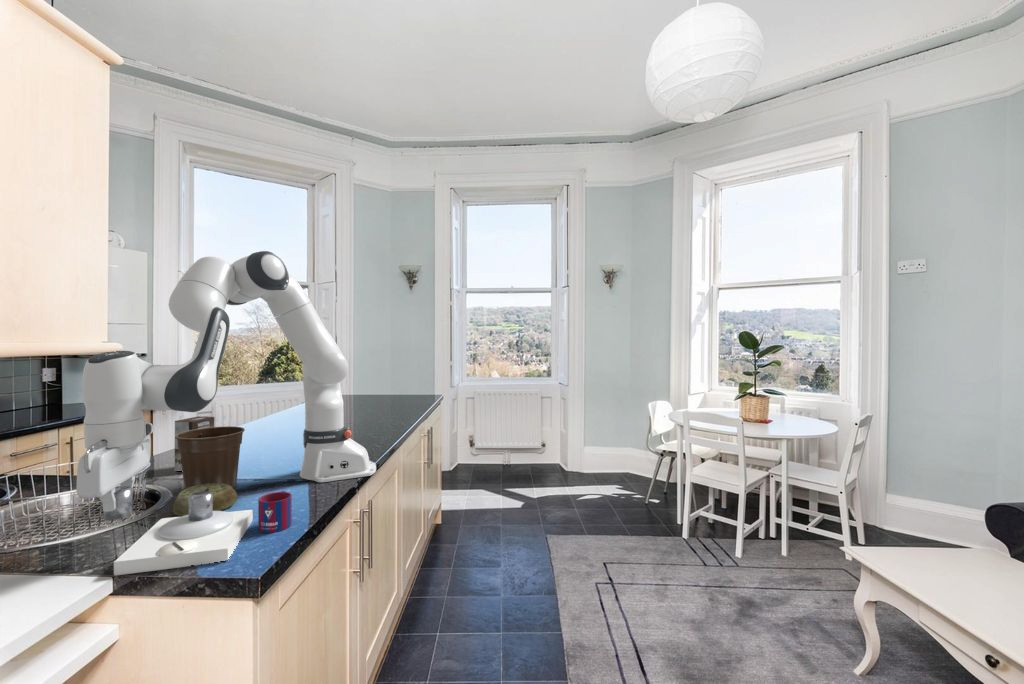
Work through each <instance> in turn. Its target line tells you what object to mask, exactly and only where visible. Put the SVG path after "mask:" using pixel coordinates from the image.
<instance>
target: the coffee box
mask: <svg viewBox="0 0 1024 684" xmlns="http://www.w3.org/2000/svg"><path fill="white" fill-rule="evenodd" d="M210 427H215V416H205V415H204V416H201V415H200V416H199V415H198V416H194V417H189V418H184V419H182V418H181V419H179V420H174V436H175V435H176V434H178V433H181V432H185V431H189V430H194V429H201V428H210ZM175 471H182V462H181V454H180V451H179V449H178V442H177V439H176V438H175V437H174V472H175Z"/></svg>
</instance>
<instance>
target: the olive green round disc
mask: <svg viewBox="0 0 1024 684" xmlns="http://www.w3.org/2000/svg"><path fill="white" fill-rule="evenodd" d="M202 491H211V492H213V511H225V510H226V509H229V508H230V507H231V506H233V505H234V504H235V503H236V502H237V501H238V493H237V492H236V489H234V488H233V487H231V486H230V485H228V484H223V483H209V484H201V485H196V486H192V487H189V488H187V489H185V490H184V489H183V490H181V491H180V492H179V493H178V495H177V496H176V498H175V500H174V502H173V506H172V512H173V514H174V515H175V516H177V517H180V516H181V517H182V516H185V515H189V505H188V496H189V495H191V494H193V493H197V492H202Z"/></svg>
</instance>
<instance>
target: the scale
mask: <svg viewBox="0 0 1024 684" xmlns="http://www.w3.org/2000/svg"><path fill="white" fill-rule="evenodd" d="M253 511H254V510H253V509H246V510H245V509H244V510H235V511H225V510H220V511H213V516H212V517H210V518H208V519H205V520H201V521H189V515H185V516H182V517H180V516H174V517H163V518H160V519H159V520H158V521H157V522H156V523H155V524H154V525H153V526H151V527H150V529H148V530H147V531H146V532H144V534H142V536H141V537H140V538H139V539H137V540H136V541H134V543H133V544H131V546H130V547H128V549H126V550H125V551H124V552H123V553H122V554H121V555H120V556H119V557H118V558H117V559H115V560H114V561H113V576H121V575H123V576H124V575H129V574H138V573H144V572H145V573H146V572H152V571H153V572H154V571H162V570H163V571H164V570H168V569H176V568H185V567H192V566H191V565H194V566H200V565H201V564H202V565H208V564H209V563H210V564H215V563H214V562H218V563H221V562H220V561H225V560H228V559H229V560H230V558H231V557H232V555H233V553H234V552H233V551H235V550H236V548H237V547H238V545H239V544H238V543H240V542H241V541H242V539H241V538H243V537H244V535H245V534H246V532H247V530H248V529H249V527H250V525H251V524H252V522H253V520H254V518H253V515H254V514H253ZM239 541H240V542H239ZM236 546H237V547H236ZM234 549H235V550H234ZM231 554H232V555H231ZM230 556H231V557H230ZM229 557H230V558H229ZM229 560H228V561H229Z"/></svg>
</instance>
